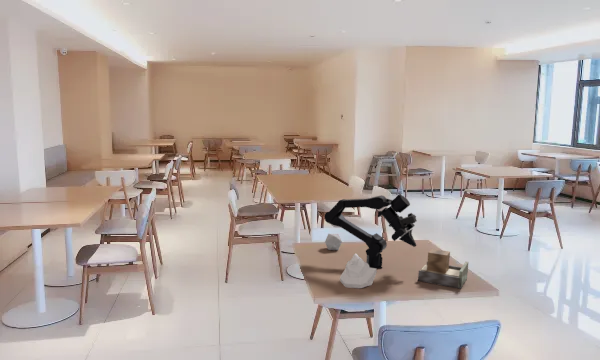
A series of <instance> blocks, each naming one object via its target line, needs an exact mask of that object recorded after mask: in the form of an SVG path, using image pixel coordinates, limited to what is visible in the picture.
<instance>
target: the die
mask: <svg viewBox="0 0 600 360" xmlns="http://www.w3.org/2000/svg"><path fill="white" fill-rule="evenodd" d="M324 243H325V244H324V245H325V246H326V248H327V250H328V251H339V250H340V247H341V244H342V243H343V241H342V238H341V236H340V234H339V233H328V234H327V236H326V239H325V240H324Z"/></svg>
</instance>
